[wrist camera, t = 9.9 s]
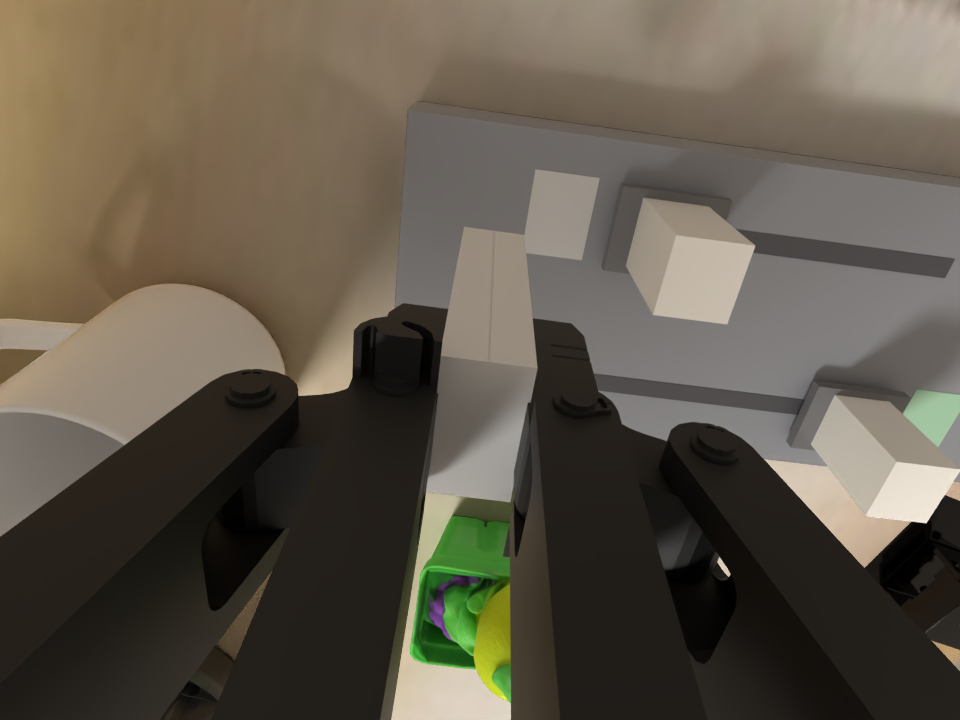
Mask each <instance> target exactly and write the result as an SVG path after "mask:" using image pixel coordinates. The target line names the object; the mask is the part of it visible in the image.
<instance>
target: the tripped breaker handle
mask: <svg viewBox="0 0 960 720" xmlns="http://www.w3.org/2000/svg"><path fill="white" fill-rule="evenodd" d="M732 202H733V201H732V200H731V199H729V198H727V197H719V196H712V195H705V194H697V193H690V192H683V191H676V190H668V189H661V188H654V187H647V186H639V185H632V184H625V183H621V185H620V189H619V194H618V198H617V202H616V206H615V210H614V215H613V219H612V223H611V227H610V231H609V236H608V240H607V244H606V248H605V253H604V257H603V261H602V265H601V266H602V269H603V270H604V271H611V272H619V273H626V274H631V276H632V278H633V280H634V282H635V283H636V285H637V287H638V289H639V291H640V292H641V294H642V296H643V298H644V300H645V302H646V303H647V305H648V307H649V309H650V311H651V312H652V314H653V315H657V316H665V317H673V318H680V319H688V320H696V321H704V322H712V323H719V324H728V321H729V318H730V315H731V312H732V310H733V307H734V304H735V301H736V299H737V296H738V293H739V290H740V287H741V285H742V282H743V279H744V276H745V274H746V271H747V268H748V265H749V262H750V260H751V257H752V254H753V251H754V249H755V245H754V244H753V243H752V242H750V241H749V240H748V239H747V238H746V237H744V236H743V235H742V234H741V233H740V232H738V231H737V230H736V229H735V228H734V227H733V226H731V225H730V224H729V223H728V222H727V221H726V220H727V217H728V214H729V211H730V208H731V205H732Z"/></svg>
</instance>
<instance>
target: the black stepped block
mask: <svg viewBox="0 0 960 720" xmlns="http://www.w3.org/2000/svg"><path fill="white" fill-rule="evenodd" d="M865 569H866V570H867V572H868V573H869V574H870V575H871V576H872V577H873V578H874V579H875V580H876V581H877V582H878V583H879V585H880V586H881V587H882V588H883V589H884V590H885V591H886V592H887V593H888V594H889V595H890V596H891V598H892V599H893V600H894V601H895V602H896V603H897V604H898V605H899V606H900V607H901V608H902V609H903V611H904V612H905V613H906V614H907V615H908V616H909V617H910V618H911V619H912V620H913V621H914V622H915V624H916V625H917V626H918V627H919V628H920V629H921V630H922V631H923V632H924V633H925V634H926V635H927V637H928V638H929V639H930V640H931V641H934V642H937V643H941V644H944V645H947V646H950V647H953V648H956V649H959V650H960V501H958V500H956V499H953V498H951V497H948V496H946V495H944V497H943V498H942V500H941V501H940V503H939V505H938V506H937V508H936V509H935V511H934V512H933V514H932V515H931V517H930V518H929V520H928V521H927V523H920V522H911V523H910V524H909V525H908V526H907V527H906V528H905V529H904V530H903V531H902V532H901V533H900V534H899V535H898V536H897V537H896V538H895V539H894V540H893V541H892V542H891V543H890V544H889V545H887V546H886V547H885V548H884V549H883V550H882V551H881V552H880V553H879V554H878V555H877V556H876V557H875V558H874V559H873V560H872V561H871V562H870V563H869V564H868V565H867V566H866V567H865Z"/></svg>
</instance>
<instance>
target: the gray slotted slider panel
mask: <svg viewBox="0 0 960 720" xmlns="http://www.w3.org/2000/svg"><path fill="white" fill-rule="evenodd" d="M621 183H625V184H632V185H639V186H647V187H654V188H661V189H668V190H676V191H683V192H690V193H697V194H705V195H712V196H719V197H727V198H729V199H731V200H732V201H733V202H732V205H731V208H730V211H729V214H728V217H727V220H726V221H727V222H728V223H729V224H730V225H731V226H733V227H734V228H735V229H736V230H737V231H738V232H740V233H741V234H742V235H743V236H744V237H746V238H747V239H748V240H749V241H750V242H752V243H753V244H754V245H755V249H754V251H753V254H752V257H751V260H750V262H749V265H748V268H747V271H746V274H745V276H744V279H743V282H742V285H741V287H740V290H739V293H738V296H737V299H736V301H735V304H734V307H733V310H732V312H731V315H730V318H729V321H728V324H719V323H712V322H704V321H696V320H688V319H680V318H673V317H665V316H657V315H653V314H652V312H651V311H650V309H649V307H648V305H647V303H646V302H645V300H644V298H643V296H642V294H641V292H640V291H639V289H638V287H637V285H636V283H635V282H634V280H633V278H632V276H631V274H626V273H619V272H611V271H604V270H603V269H602V266H601V265H602V261H603V257H604V253H605V248H606V244H607V240H608V236H609V231H610V227H611V223H612V219H613V215H614V210H615V206H616V202H617V198H618V194H619V189H620V185H621ZM464 227H470V228H477V229H485V230H492V231H499V232H507V233H514V234H521V235H524V237H525V247H526V257H527V267H528V277H529V287H530V297H531V307H532V318H535V319H542V320H550V321H558V322H565V323H572V324H573V325H574V326H575V327H576V328H577V329H578V330H579V331H580V332H581V333H582V334H583V335H584V338H585V341H586V345H587V351H588V353H589V357H590V362H591V365H592V369H593V373H594V377H595V380H596V384H597V388H598V392H600V393H602V394H603V395H605V396H606V397H607V398H608V399H610V400H611V401H612V402H613V403H614V405H615V407H616V408H617V410H618V412H619V415H620V419H621V422H622V424H623V425H625V426H627V427H628V428H630V429H633V430H636V431H638V432H641V433H643V434H646V435H650V436H653V437H656V438H659V439H662V440H665V441H667V439H668V436H669V433H670V431H671V429H673V428H674V427H675V426H677V425H678V424H682V423H688V422H698V423H709V424H713V425H715V426H720V427H722V428H725V429H727V430H728V431H730V432H732V433H734V434H736V435H737V436H739V437H741V438H742V439H743V440H745V441H746V442H747V443H748V444H749V445H751V446H752V447H753V448H754V449H755V450H756V451H757V452H758V454H759V455H760V456H761V457H762V458H763V459H768V460H777V461H785V462H793V463H802V464H810V465H819V466H827V465H826V464H825V462H824V461H823V460H822V458H821V457H820V456H819V454H818V453H817V452H816V451H814V450H806V449H798V448H791V447H790V446H789V444H788V443H787V442H786V440H787V438H788V436H789V433H790V431H791V429H792V427H793V425H794V422H795V420H796V418H797V416H798V414H799V412H800V409H801V407H802V405H803V403H804V401H805V399H806V396H807V394H808V392H809V390H810V388H811V385H812V383H813V381H822V382H830V383H838V384H846V385H854V386H862V387H870V388H878V389H886V390H894V391H902V392H905V393H906V394H907V395H908V396H909V397H910V398H911V399H910V401H909V403H908V404H907V406H906V408H905V410H904V412H903V413H902V414H903V415H904V416H905V417H906V418H907V419H908V420H909V421H910V422H912V423H913V424H914V425H915V426H916V427H917V428H918V429H919V430H920V431H921V432H922V433H923V434H924V435H925V436H926V437H927V438H928V439H929V440H931V441H932V442H933V443H934V444H935V445H936V446H937V447H938V448H939V449H940V450H941V451H942V452H943V453H944V454H945V455H946V456H947V457H948V458H949V459H951V460H952V461H953V462H954V463H955V464H956V465H957V466H958V467H959V468H960V178H959V177H951V176H944V175H937V174H930V173H923V172H916V171H909V170H902V169H895V168H888V167H881V166H874V165H866V164H859V163H852V162H845V161H838V160H831V159H824V158H817V157H810V156H803V155H796V154H789V153H781V152H774V151H767V150H760V149H753V148H746V147H739V146H732V145H725V144H718V143H711V142H704V141H697V140H689V139H682V138H675V137H668V136H661V135H654V134H647V133H640V132H633V131H626V130H619V129H612V128H604V127H597V126H590V125H583V124H576V123H569V122H562V121H555V120H548V119H541V118H534V117H527V116H520V115H512V114H505V113H498V112H491V111H484V110H477V109H470V108H463V107H456V106H449V105H442V104H435V103H427V102H420V101H417V102H416V103H415V104H414V105H413V106H412V107H411V108H410V109H409V110H408V115H407V130H406V145H405V160H404V175H403V190H402V205H401V220H400V235H399V250H398V266H397V281H396V296H395V308H396V307H398V306H399V305H401V304H402V303H407V304H414V305H422V306H429V307H437V308H445V309H449V304H450V298H451V293H452V288H453V283H454V277H455V272H456V267H457V261H458V256H459V251H460V246H461V240H462V235H463V230H464ZM827 467H828V466H827ZM954 482H960V472H959V474H958V475H957V477H956V478H955V480H954Z"/></svg>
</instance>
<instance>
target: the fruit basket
mask: <svg viewBox="0 0 960 720" xmlns="http://www.w3.org/2000/svg"><path fill="white" fill-rule="evenodd" d="M509 524H510V523H506V522H499V521H491V522H487V523H484V521H481V520H479V519H476V518H469V517H461V516H452V517H451V519H450V520H449V523H448V525H447V527H446V529H445V531H444V533H443V535H442V537H441V539H440V541H439V544H438V546H437V548H436V550H435V552H434V554H433V556H432V558H431V559H429V560H428V562H427V563H426V565H425V566H424V568H423V570H422V572H421V575H420V581H419V590H418V597H417V604H416V612H415V619H414V626H413V633H412V638H411V645H410V654H411V656H412V657H413V658H414V659H415V660H417V661H419V662H421V663H425V664H432V665H441V666H448V667H456V668H467V669H476V670H477V673H478V674H479V676H480V678H481V680H482V681H483V683H484V684H485V685H486V686H487V688H488V689H489V690H490V691H491V692H493V693H494V694H495V695H497V696H498V697H500V698H501V699H504V700H506V701H509V702H510V703H511V640H510V556H509V557H503V553H504V548H505V543H506V538H507V533H508V529H509Z"/></svg>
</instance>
